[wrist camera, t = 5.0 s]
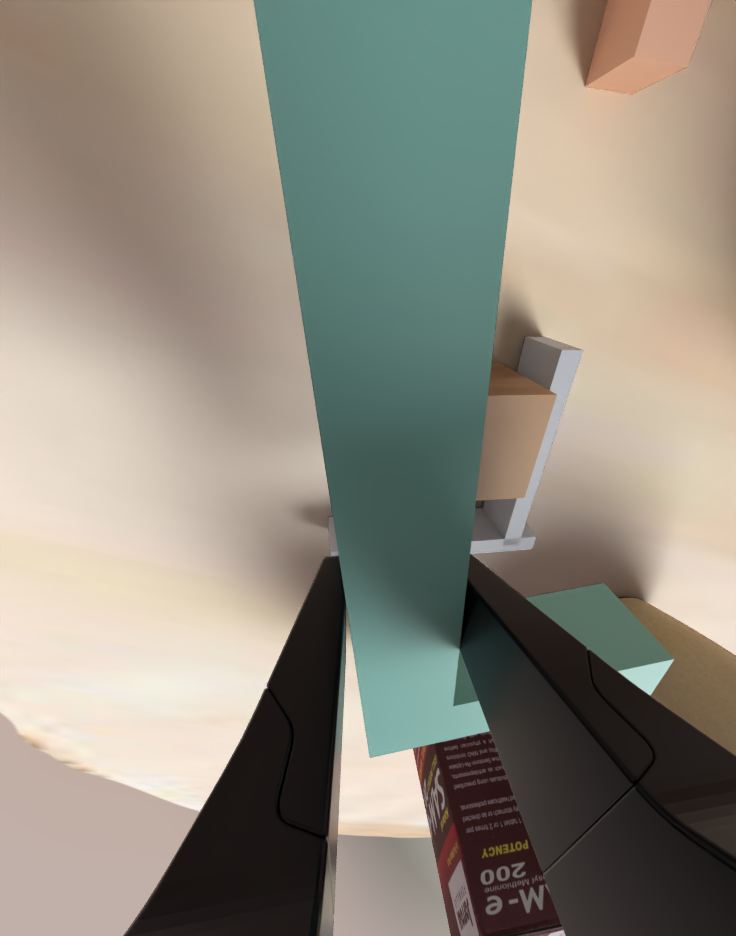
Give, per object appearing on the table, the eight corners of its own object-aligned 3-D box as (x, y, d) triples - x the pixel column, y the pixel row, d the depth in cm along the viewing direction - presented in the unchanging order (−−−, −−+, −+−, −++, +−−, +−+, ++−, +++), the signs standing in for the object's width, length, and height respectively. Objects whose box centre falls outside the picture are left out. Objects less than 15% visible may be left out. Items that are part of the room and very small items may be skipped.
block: (499, 362, 18) (557, 394, 14) (480, 448, 21) (524, 497, 17) (404, 362, 18) (435, 396, 13) (397, 451, 20) (420, 503, 16)
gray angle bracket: (562, 336, 18) (604, 350, 15) (508, 517, 24) (532, 549, 21) (322, 334, 16) (325, 349, 14) (328, 529, 22) (331, 565, 20)
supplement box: (391, 581, 25) (482, 949, 12) (456, 573, 26) (613, 916, 12) (390, 652, 30) (455, 978, 16) (445, 644, 30) (552, 953, 17)
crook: (865, -61, 5) (1328, -324, 3) (589, 618, 14) (650, 695, 11) (248, -68, 4) (183, -455, 2) (357, 663, 13) (370, 757, 10)
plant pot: (496, 660, 33) (626, 942, 19) (611, 546, 27) (918, 842, 13) (603, 679, 38) (765, 915, 24) (720, 587, 32) (1023, 832, 18)
